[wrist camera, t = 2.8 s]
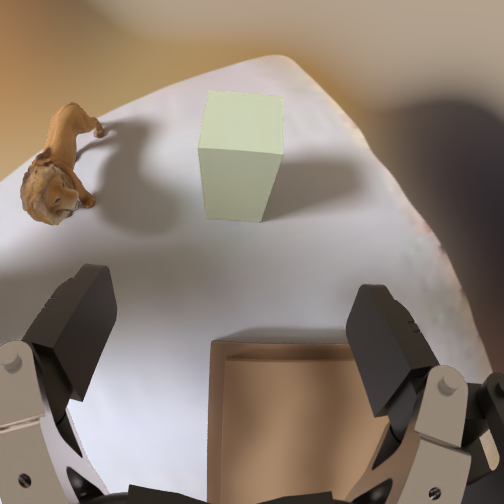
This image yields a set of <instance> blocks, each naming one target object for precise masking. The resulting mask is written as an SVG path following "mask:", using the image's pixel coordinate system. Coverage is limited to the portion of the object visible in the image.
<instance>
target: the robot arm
mask: <svg viewBox="0 0 504 504" xmlns="http://www.w3.org/2000/svg"><path fill="white" fill-rule="evenodd" d="M116 316H117V305H116V300H115V295H114V290H113V285H112V280H111V275H110V271H109V268H108V267H107V266H101V265H92V264H85V265H83V266H82V268H81V269H80V270H79V272H78V273H77V274H76V276H75V277H74V278H70V279H68V280H67V281H65V282H64V283H63V284H61V285H60V286H59V287H58V288H57V289H56V291H55V292H54V293H53V295H52V296H51V299H49V300H48V302H47V303H46V304H45V308H43V309H42V310H41V312H40V313H39V314H38V316H37V317H36V319H35V320H34V322H33V323H32V325H31V326H30V328H29V329H28V331H27V332H26V334H25V336H24V337H23V339H22V340H21V341H10V342H7V343H5V344H3V345H2V346H1V347H0V498H1V501H2V504H211V503H207V502H204V501H200V500H197V499H194V498H191V497H188V496H185V495H182V494H179V493H174V492H167V491H161V490H155V489H150V488H145V487H140V486H135V485H130V484H129V489H128V492H121V493H112V494H110V493H109V492H108V490H107V488H106V486H105V484H104V483H103V481H102V479H101V478H100V476H99V475H98V473H97V472H96V471H95V469H94V468H93V466H92V465H91V463H90V461H89V460H88V457H87V455H86V453H85V451H84V448H83V446H82V444H81V441H80V439H79V436H78V434H77V431H76V429H75V426H74V423H73V421H72V418H71V415H70V412H69V410H68V408H67V404H68V402H69V399H74V400H77V401H81V402H83V400H84V397H85V394H86V392H87V389H88V386H89V384H90V381H91V378H92V376H93V373H94V371H95V368H96V366H97V363H98V361H99V358H100V356H101V354H102V351H103V349H104V346H105V344H106V342H107V339H108V337H109V335H110V333H111V330H112V328H113V326H114V324H115V321H116ZM346 336H347V339H348V342H349V345H350V348H351V350H352V353H353V356H354V359H355V362H356V365H357V367H358V370H359V373H360V376H361V379H362V382H363V385H364V388H365V391H366V394H367V397H368V400H369V403H370V406H371V409H372V412H373V415H374V418H376V417H382V416H388V418H389V422H388V423H387V425H386V427H385V429H384V431H383V433H382V436H381V438H380V440H379V443H378V445H377V447H376V449H375V452H374V454H373V456H372V458H371V460H370V462H369V464H368V466H367V468H366V470H365V472H364V474H363V475H362V477H361V478H360V479H359V480H358V481H357V483H356V484H355V485H354V486H353V488H352V489H351V490H350V492H349V493H348V495H347V496H346V498H345V500H344V501H343V500H337V499H333V496H332V491H328V492H321V493H313V494H304V495H294V496H283V497H280V498H276V499H273V500H269V501H265V502H261V503H257V504H504V375H503V374H501V373H492V374H490V375H489V377H488V378H487V379H486V380H485V381H484V383H483V384H474V383H466V381H465V379H464V377H463V376H462V375H461V374H460V373H459V372H458V371H457V370H455V369H454V368H452V367H449V366H445V365H440V364H439V362H438V360H437V359H436V357H435V355H434V353H433V352H432V350H431V348H430V346H429V345H428V343H427V341H426V339H425V338H424V336H423V334H422V333H420V329H419V328H418V326H417V324H416V323H414V319H413V318H412V316H411V315H410V313H409V311H408V310H407V309H406V308H405V307H404V306H403V305H401V304H400V303H399V302H398V301H397V300H394V298H393V297H392V295H391V294H390V292H389V291H388V289H387V287H386V286H384V285H369V284H363V285H361V287H360V288H359V290H358V293H357V296H356V298H355V301H354V304H353V307H352V309H351V312H350V314H349V317H348V320H347V324H346ZM488 429H490V431H491V434H492V436H493V439H494V442H495V444H496V447H497V450H498V453H499V456H500V461H499V464H498V466H497V468H496V469H495V470H494V471H492V470H491V469H490V468H489V465H488V462H487V459H486V456H485V453H484V450H483V447H482V444H481V441H480V439H479V437H480V436H482V435H483V434H484V433H485V432H486V431H487V430H488Z"/></svg>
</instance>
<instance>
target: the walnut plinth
mask: <svg viewBox="0 0 504 504" xmlns="http://www.w3.org/2000/svg"><path fill="white" fill-rule="evenodd" d="M388 422H389V418H388V416H382V417H376V418H374V415H373V412H372V409H371V406H370V403H369V400H368V397H367V394H366V391H365V388H364V385H363V382H362V379H361V376H360V373H359V370H358V367H357V365H356V362H355V359H354V356H353V353H352V350H351V348H350V345H349V343H338V344H274V343H246V342H227V341H212V342H211V353H210V375H209V401H208V439H207V503H211V504H257V503H261V502H265V501H269V500H273V499H276V498H280V497H283V496H294V495H304V494H313V493H321V492H328V491H332V496H333V499H337V500H343V501H344V500H345V498H346V496H347V495H348V493H349V492H350V490H351V489H352V488H353V486H354V485H355V484H356V483H357V481H358V480H359V479H360V478H361V477H362V475H363V474H364V472H365V470H366V468H367V466H368V464H369V462H370V460H371V458H372V456H373V454H374V452H375V449H376V447H377V445H378V443H379V440H380V438H381V436H382V433H383V431H384V429H385V427H386V425H387V423H388Z"/></svg>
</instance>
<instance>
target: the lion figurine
mask: <svg viewBox="0 0 504 504" xmlns="http://www.w3.org/2000/svg"><path fill="white" fill-rule="evenodd" d="M93 129H94V136H95V137H96V138H99V137H101V136H102V135H103V134H104V130H103V128H102V126H101V125H100V123H99V121H98V120H97V119H96V118H95V117H92V118H90V117H89V116H88V115H87V114H86V113H85V111H84V110H83V109H82V108H81V107H80V106H79V105H78V104H76V103H73V102H71V103H68V104H66V105H64V106H63V107H62V108H60V109H59V110H58V111H57V112H56V113H55V114H54V116H53V117H52V119H51V121H50V125H49V132H48V136H47V140H46V144H45V147H44V150H43V153H41V154H39V155H37V156H36V159H35V160H34V161H33V162H32V165H30V166H29V168H28V172H26V173H25V174H24V178H23V183H22V186H21V189H20V192H21V200H22V204H23V210H24V211H27V213H28V214H29V215H30V216H31V217H32V218H33V219H34V220H36V221H39V222H44V223H46V224H50V225H59V223H60V222H61V221H62V220H63V219H64V218H67V217H69V216H70V212H71V211H74V210H76V209H77V208H78V200H77V199H78V198H79V200H80V201H81V202H82V203H83V206H84V207H85V208H90V207H91V206H92V205H93V204H94V203H95V199H94V198H93V197H92V195H91V194H90V193H89V192H88V191H86V190H85V189H84V187H83V185H82V182H81V181H80V180H79V179H78V177H77V176H76V175H75V173H74V172H73V169H74V165H75V159H76V137H77V135H78V134H82V133H87V132H90V131H91V130H93Z"/></svg>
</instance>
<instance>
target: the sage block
mask: <svg viewBox="0 0 504 504" xmlns="http://www.w3.org/2000/svg"><path fill="white" fill-rule="evenodd" d="M198 155H199V164H200V172H201V181H202V189H203V197H204V205H205V212H206V219H220V220H234V221H248V222H260V223H261V220H262V217H263V214H264V211H265V208H266V205H267V202H268V199H269V196H270V193H271V190H272V187H273V184H274V181H275V179H276V176H277V173H278V170H279V167H280V164H281V161H282V158H283V155H284V144H283V97H278V96H270V95H261V94H251V93H239V92H224V91H209V92H208V97H207V102H206V106H205V111H204V116H203V122H202V127H201V132H200V138H199V143H198Z"/></svg>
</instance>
